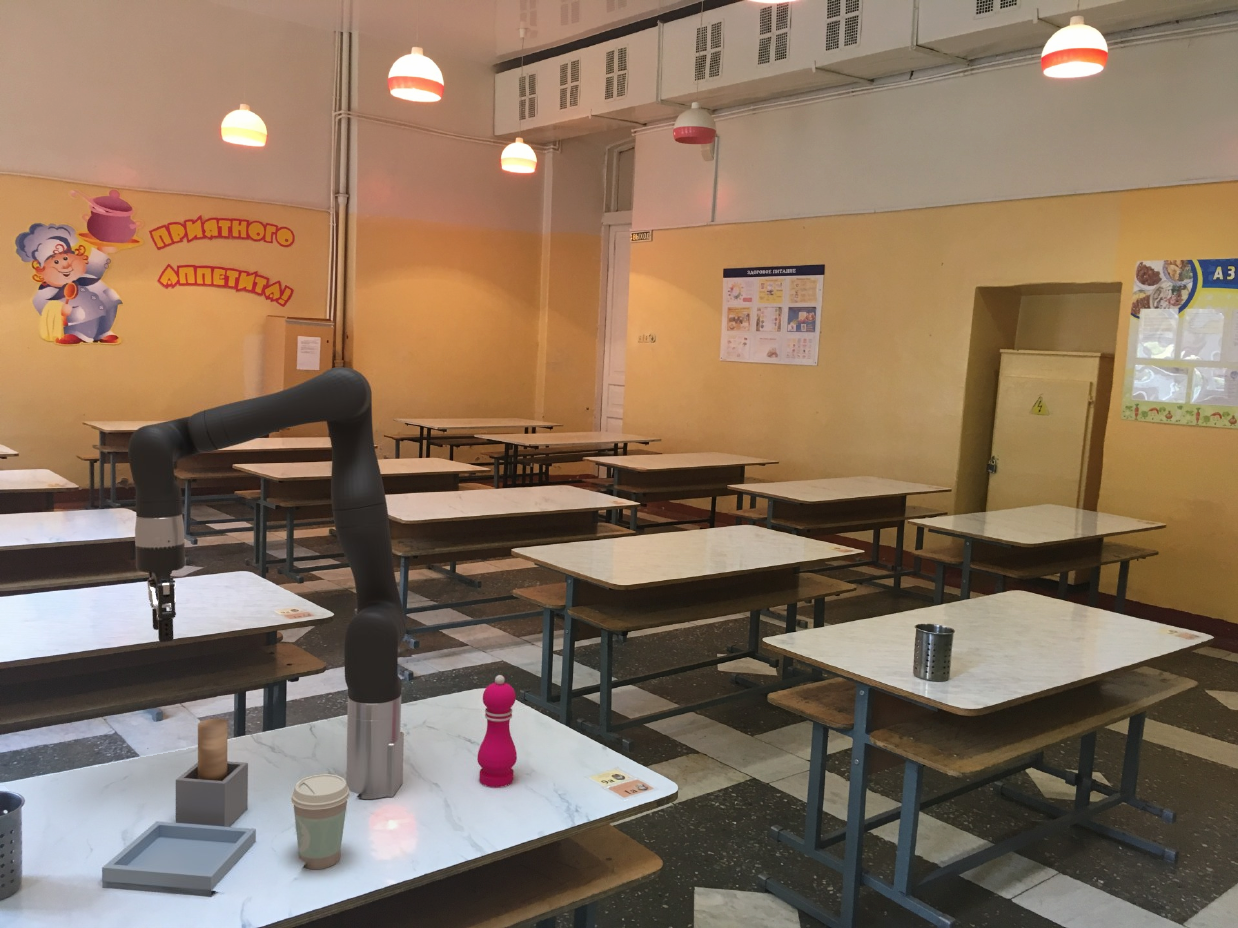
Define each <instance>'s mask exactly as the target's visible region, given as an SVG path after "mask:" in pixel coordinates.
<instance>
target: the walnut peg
mask: <svg viewBox="0 0 1238 928" xmlns="http://www.w3.org/2000/svg"><path fill="white" fill-rule="evenodd" d="M227 761H228V720H227V719H225V718H219V717H217V718H208V719H203V720H201V721H199V722H198V724H197V762H198V779H201V780H214V781H223V780H224V779H225V778H226V777H227Z"/></svg>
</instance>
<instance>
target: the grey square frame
mask: <svg viewBox="0 0 1238 928" xmlns="http://www.w3.org/2000/svg"><path fill="white" fill-rule="evenodd" d="M248 783H249V763H248V762H243V761H242V762H241V761H240V762H239V761H229V760H227V777H226V778H225V779H224V780H223V781H214V780H201V779H198V761H197V762H196V763H195V764H193V765H192V766H191V767H189V768H188V769H187V770H186V771H185V772H183V774H181V775H180V776H179V777H177V778H176V779H175V823H185V824H198V825H211V826H223V827H232V826H233V824H235V823H236V822H237V821H238V819H240V818H241V817H242V816H243V814H245V813H246V812H247V810H248V809H249V808H248V807H249V805H248V804H249V803H248V801H249V799H248V796H249V795H248V794H249V793H248V792H249V789H248V788H249V787H248V786H249V784H248Z"/></svg>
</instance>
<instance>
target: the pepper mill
mask: <svg viewBox="0 0 1238 928" xmlns="http://www.w3.org/2000/svg"><path fill="white" fill-rule="evenodd" d="M516 697H517V696H516V691H515V689H514V687H512V686H511V685H510V684H509V683H507V682H505V676H503V675H502V674H498V675H496V676H495V678H494V682H492V683H491V684H489V685H487V686H486V687H485V689H484V691H483V693H482V702H483V705H484V706H485V709H484V713H485V714H484V718H485V719H486V731H485V735H484V738H483V740H482V742H481V744H480V746H479V748H478V751H477V757H476V758H477V761H476V762H477V764H478V765H479V767H480V768H481V769H480V770H479V782H480V784H482V785H483V786H485V785H486V786H485V787H490V788H502V787H501V786H504V787H506V786H505V785H507V786H509V785H511V784H512V783H513V782H512V781H514V776H515V775H514V774H515V773H514V769H513V767H514V766H515V765H516V762H517V759H518V757H517V749H516V745H515V743H514V740H513V738H512V733H511V730H510V722H511V721H510V720H511V719H512V718H513V714H512V713H513V708H512V707H513V706H514V704H515V703H516V700H517V699H516ZM511 782H512V783H511ZM510 783H511V784H510ZM508 784H509V785H508Z"/></svg>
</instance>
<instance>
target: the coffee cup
mask: <svg viewBox="0 0 1238 928" xmlns="http://www.w3.org/2000/svg"><path fill="white" fill-rule="evenodd" d="M350 796H351V791H350V790H349V788H348V786H347V783H346V778H344V777H342V776H340V775H336V774H329V773H326V774H325V773H324V774H323V773H321V774H315V775H310V776H307V777H304V778H302V779H300V780H299V781H297V782H296V784H295V785H294V789H293V791H292V793H291V797H290V802H291V804H292V805H293V813H294V820H295V821H294V823H295V830H296V838H297V841H296V842H297V848H298V857H299V860H301V861H302V862H303V863H304V865H303V866H302V867H303V868H306V869H310V870H322V869H326V868H327V869H328V868H329V867H331V866H334V865H335V864H337V863H338V861H339V859H340V856H341V849H342V841H343V834H344V829H345V821H346V820H345V819H346V812H347V806H348V805H347V804H348V800H349V798H350Z"/></svg>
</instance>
